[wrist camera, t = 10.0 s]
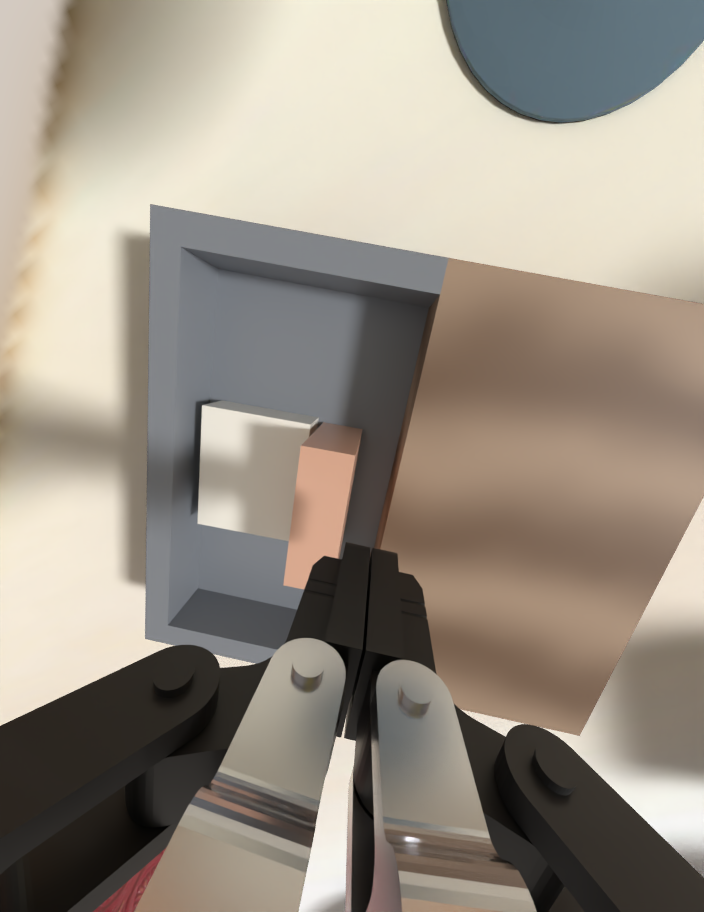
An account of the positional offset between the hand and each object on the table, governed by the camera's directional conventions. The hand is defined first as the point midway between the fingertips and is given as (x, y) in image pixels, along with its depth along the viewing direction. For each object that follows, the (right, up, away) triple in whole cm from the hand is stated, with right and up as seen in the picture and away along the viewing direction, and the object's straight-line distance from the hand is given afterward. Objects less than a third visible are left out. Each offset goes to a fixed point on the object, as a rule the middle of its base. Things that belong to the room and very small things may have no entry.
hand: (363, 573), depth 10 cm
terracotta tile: (0, +1, +6) cm, 6 cm away
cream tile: (-5, +2, +6) cm, 8 cm away
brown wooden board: (+8, +1, +9) cm, 11 cm away
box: (-4, +3, +9) cm, 10 cm away
